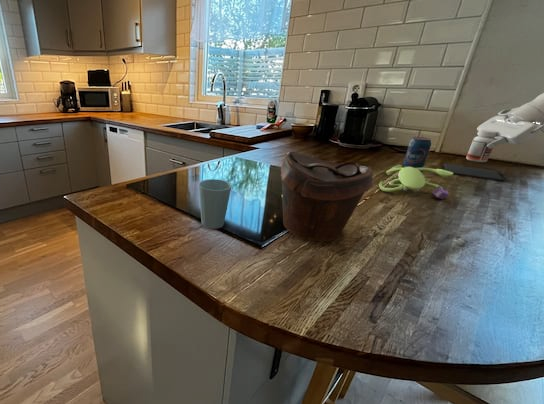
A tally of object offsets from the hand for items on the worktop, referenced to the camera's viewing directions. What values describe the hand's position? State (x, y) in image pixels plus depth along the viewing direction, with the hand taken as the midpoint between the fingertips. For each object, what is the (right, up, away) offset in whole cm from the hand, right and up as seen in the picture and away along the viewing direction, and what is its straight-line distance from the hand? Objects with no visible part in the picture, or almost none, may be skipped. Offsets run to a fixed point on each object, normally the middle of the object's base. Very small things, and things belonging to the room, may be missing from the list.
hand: (480, 144), depth 113 cm
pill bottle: (+1, -6, +2) cm, 6 cm away
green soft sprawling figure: (-35, -17, -11) cm, 40 cm away
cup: (-106, -27, -39) cm, 116 cm away
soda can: (-19, -8, +10) cm, 22 cm away
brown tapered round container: (-82, -29, -41) cm, 96 cm away
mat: (0, -10, +4) cm, 11 cm away
